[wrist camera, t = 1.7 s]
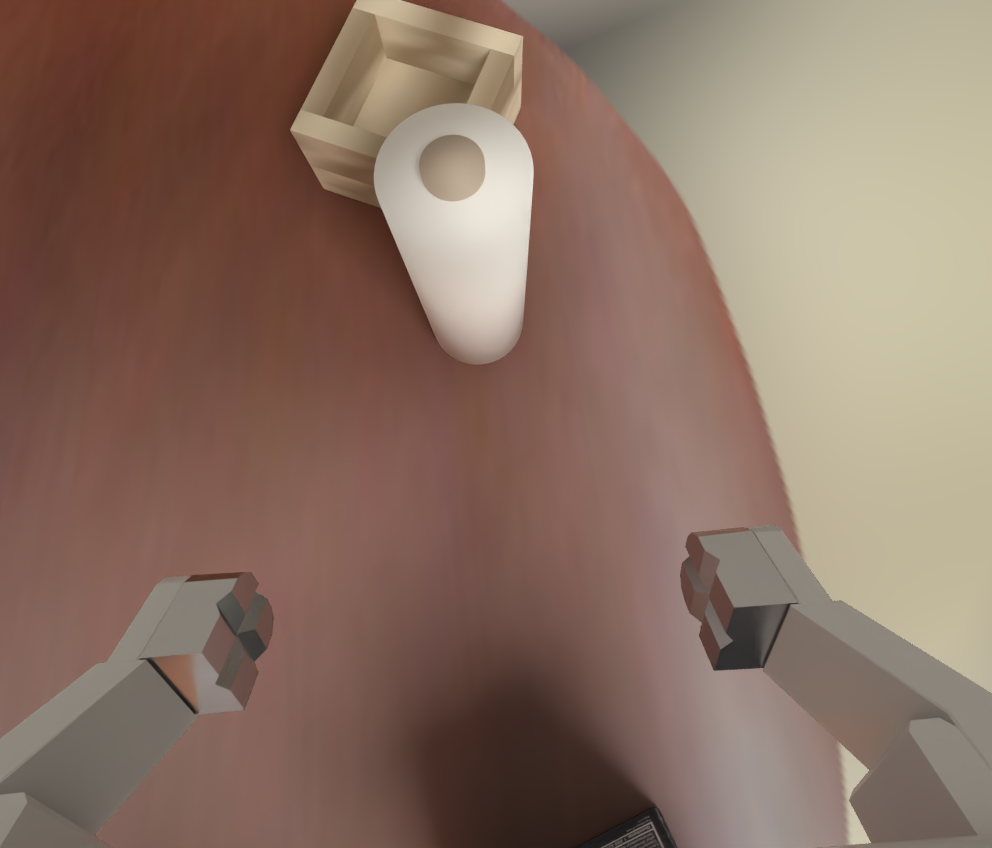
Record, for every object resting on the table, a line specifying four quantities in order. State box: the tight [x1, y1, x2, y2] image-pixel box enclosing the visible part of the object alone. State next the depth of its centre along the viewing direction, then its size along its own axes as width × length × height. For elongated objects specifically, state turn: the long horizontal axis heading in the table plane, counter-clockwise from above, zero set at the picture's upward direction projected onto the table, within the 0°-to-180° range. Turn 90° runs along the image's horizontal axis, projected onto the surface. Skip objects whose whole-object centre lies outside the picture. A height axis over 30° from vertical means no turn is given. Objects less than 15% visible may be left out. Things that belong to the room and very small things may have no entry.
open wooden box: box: [290, 0, 523, 208], centre depth 27 cm, size 9×9×4 cm
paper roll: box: [374, 103, 534, 365], centre depth 21 cm, size 5×5×12 cm
